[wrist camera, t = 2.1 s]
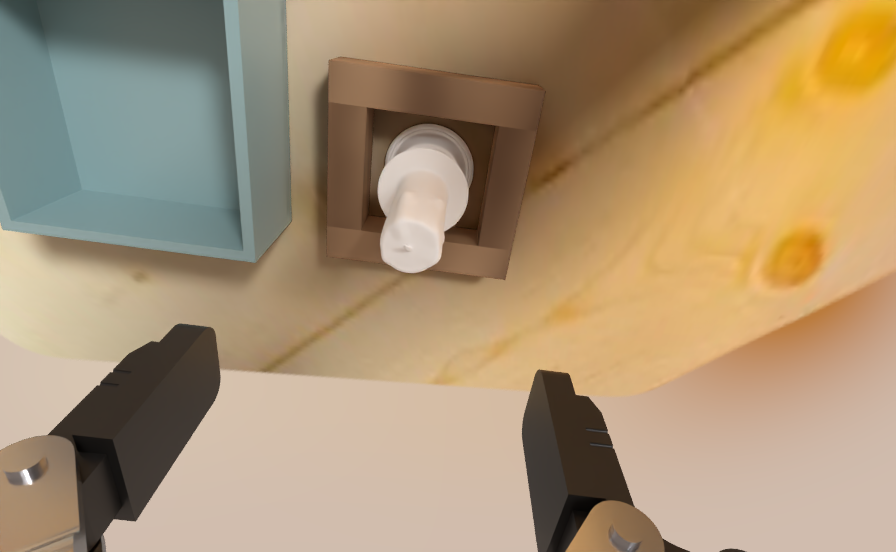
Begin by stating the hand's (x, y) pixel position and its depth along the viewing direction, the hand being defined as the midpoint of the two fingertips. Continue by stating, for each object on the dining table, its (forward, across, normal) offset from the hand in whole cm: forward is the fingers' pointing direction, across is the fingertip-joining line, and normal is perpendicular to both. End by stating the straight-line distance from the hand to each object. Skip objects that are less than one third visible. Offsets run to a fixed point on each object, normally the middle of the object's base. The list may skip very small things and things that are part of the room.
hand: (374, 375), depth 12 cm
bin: (+19, +15, -2) cm, 24 cm away
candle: (+19, 0, 0) cm, 19 cm away
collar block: (+19, 0, 0) cm, 19 cm away
